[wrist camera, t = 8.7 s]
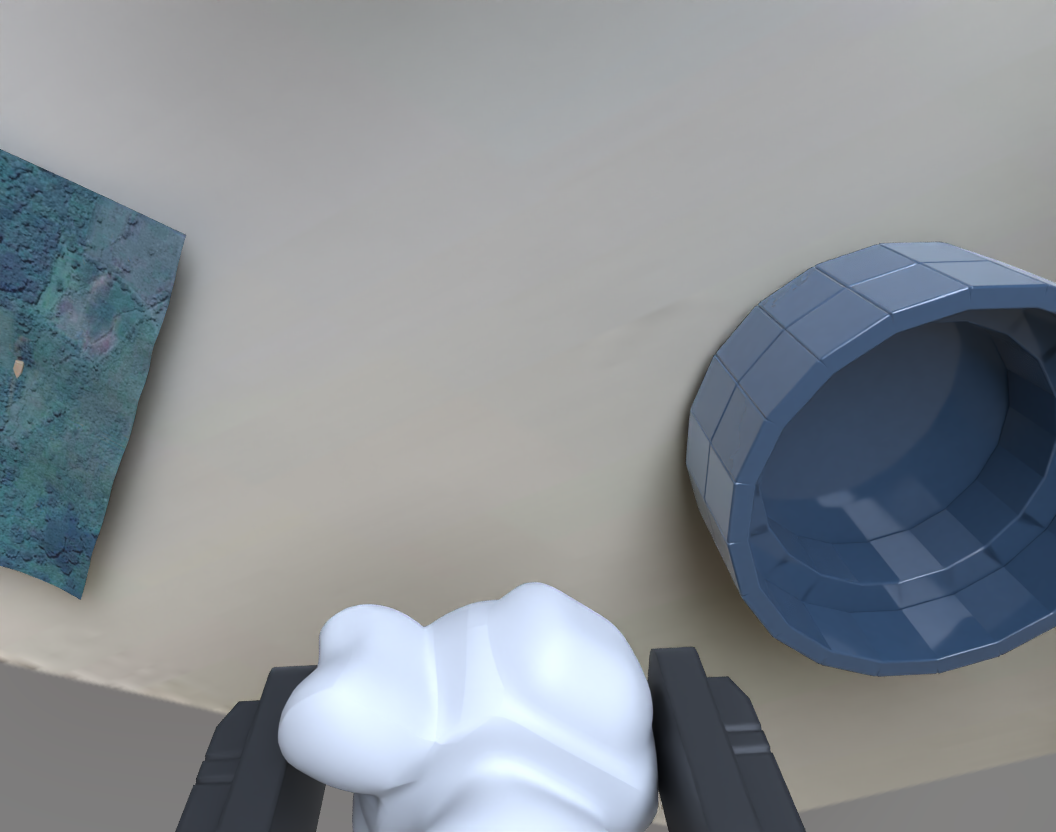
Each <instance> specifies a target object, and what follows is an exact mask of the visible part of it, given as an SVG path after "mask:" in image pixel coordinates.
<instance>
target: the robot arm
mask: <svg viewBox="0 0 1056 832" xmlns="http://www.w3.org/2000/svg"><path fill="white" fill-rule="evenodd" d="M317 666H318V665H309V666H289V667H274V668H272V669H271V671H270V673H269V675H268V678H267V681H266V684H265V687H264V690H263V693H262V696H261V699H260V700H257V701H239V702H238V703H237V704H236V705H235V706H234V708H233V709H232V710H231V711H230V712H229V713H228V714H227V715H226V717H225V718H224V719H223V720H222V721H221V722H220V723H219V725H218V726H217V727H216V730H215V732H214V734H213V737H212V739H211V742H210V745H209V747H208V750H207V752H206V755H205V761H203V762H202V765H201V767H200V770H199V773H198V775H197V778H196V784H195V785H193V788H192V790H191V793H190V795H189V798H188V801H187V803H186V806H185V809H184V811H183V813H182V816H181V819H180V821H179V824H178V826H177V829H176V831H175V832H316V829H317V824H318V819H319V814H320V810H321V805H322V800H323V795H324V790H325V786H326V784H324V783H322V782H319V781H317V780H315V779H314V778H312V777H310V776H308V775H306V774H304V773H303V772H301V771H299V770H298V769H296V768H295V767H293V766H292V765H291V764H289V763H288V762H287V760H286V759H285V757H284V756H283V755H282V752H281V749H280V746H279V743H278V729H279V722H280V718H281V714H282V711H283V709H284V707H285V705H286V703H287V701H288V699H289V698H290V696H291V694H292V692H293V691H294V689H295V688H296V687H297V686H298V685H299V684H300V683H301V682H302V681H303V680H304V679H305V678H306V677H308V676H309V675H310V674H311V673H312V672H313V671H314V670H315V669H316V668H317ZM648 685H649V688H650V692H651V698H652V704H653V720H652V730H653V735H654V740H655V748H656V756H657V766H658V789H659V794H660V798H661V802H662V806H663V810H664V814H665V818H666V822H667V826H668V830H669V832H806V831H805V828H804V826H803V824H802V821H801V819H800V816H799V814H798V812H797V809H796V807H795V805H794V802H793V800H792V797H791V795H790V793H789V790H788V788H787V786H786V783H785V781H784V779H783V776H782V774H781V771H780V769H779V767H778V764H777V762H776V760H775V757H774V755H773V753H771V751H770V745H769V743H768V741H767V738H766V736H765V734H764V731H763V730H761V724H760V722H759V719H758V717H757V715H756V712H755V710H754V708H753V705H752V703H751V701H750V698H749V697H748V696H747V695H746V694H745V693H744V692H743V691H742V690H741V689H740V688H739V687H738V686H737V685H736V684H735V683H734V682H733V681H732V680H731V679H730V678H729V677H728V676H726V677H706V674H705V671H704V669H703V666H702V663H701V660H700V658H699V655H698V653H697V651H696V649H695V648H694V647H677V648H658V649H651V651H650V657H649V670H648Z"/></svg>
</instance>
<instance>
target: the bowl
mask: <svg viewBox="0 0 1056 832" xmlns="http://www.w3.org/2000/svg"><path fill="white" fill-rule="evenodd" d="M758 305H759V306H755V307H754V308H753V310H752V311H751V312H750V313H749V314H748V316H747V317H746V318H745V319H744V320H743V321H742V323H741V324H740V325H739V326H738V327H737V329H736V330H735V331H734V332H733V333H732V335H731V336H730V337H729V338H728V339H727V340H726V342H725V343H724V344H723V345H722V346H721V348H720V349H719V350H718V351H717V352H716V355H714V356H713V359H712V361H711V363H710V365H709V368H708V370H707V372H706V375H705V377H704V379H703V382H702V384H701V386H700V388H699V391H698V393H697V395H696V398H695V400H694V402H693V404H692V407H691V410H690V418H689V430H688V441H687V452H686V466H687V470H688V473H689V477H690V480H691V484H692V488H693V491H694V495H695V498H696V502H697V505H698V509H699V511H700V513H701V515H702V517H703V519H704V521H705V523H706V525H707V527H708V529H709V532H710V534H711V536H712V538H713V540H714V542H715V544H716V546H717V548H718V550H719V552H720V554H721V556H722V558H723V560H724V562H725V565H726V567H727V569H728V571H729V573H730V575H731V577H732V579H733V581H734V583H735V585H736V587H737V589H738V591H739V593H740V595H741V598H742V599H743V600H744V601H745V603H746V604H747V605H748V606H749V608H750V609H751V610H752V612H753V613H754V614H755V615H756V617H757V618H758V619H759V620H760V622H761V623H762V624H763V625H764V627H765V628H766V629H767V631H768V632H769V633H770V634H771V636H772V637H774V638H775V639H777V640H779V641H780V642H782V643H784V644H785V645H787V646H789V647H791V648H792V649H794V650H796V651H797V652H799V653H801V654H803V655H804V656H806V657H808V658H809V659H811V660H813V661H815V662H816V663H818V664H821V665H824V666H828V667H833V668H838V669H842V670H847V671H852V672H856V673H861V674H866V675H870V676H878V677H881V676H900V675H920V674H936V673H943V672H946V671H950V670H953V669H957V668H960V667H964V666H967V665H971V664H974V663H978V662H981V661H985V660H988V659H992V658H995V657H999V656H1000V655H1003V654H1005V653H1007V652H1009V651H1011V650H1013V649H1015V648H1016V647H1018V646H1020V645H1022V644H1024V643H1026V642H1028V641H1030V640H1032V639H1033V638H1035V637H1037V636H1039V635H1041V634H1043V633H1045V632H1047V631H1049V630H1050V629H1052V628H1054V627H1056V283H1055V282H1053V281H1050V280H1047V279H1045V278H1042V277H1040V276H1037V275H1035V274H1032V273H1029V272H1027V271H1024V270H1022V269H1019V268H1017V267H1014V266H1012V265H1009V264H1006V263H1004V262H1001V261H999V260H996V259H993V258H990V257H987V256H984V255H981V254H978V253H975V252H972V251H969V250H966V249H963V248H960V247H957V246H954V245H951V244H948V243H943V242H912V243H880V244H879V245H877V244H876V245H873V246H870V247H867V248H864V249H861V250H858V251H855V252H852V253H849V254H847V255H844V256H841V257H838V258H835V259H832V260H829V261H826V262H823V263H820V264H817V265H815V267H811V268H810V269H808V270H807V271H805V272H804V273H802V274H801V275H799V276H798V277H797V278H795V279H794V280H792V281H791V282H789V283H788V284H786V285H785V286H783V287H782V288H780V289H779V290H777V291H776V292H775V293H773V294H772V295H770V296H769V297H767V298H766V299H764V300H763V301H761V302H760V303H759V304H758Z"/></svg>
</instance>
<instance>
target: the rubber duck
mask: <svg viewBox="0 0 1056 832" xmlns="http://www.w3.org/2000/svg"><path fill="white" fill-rule="evenodd" d="M652 720H653V704H652V698H651V692H650V688H649V685H648V682H647V680H646V677H645V675H644V673H643V670H642V668H641V666H640V663H639V661H638V660H637V658H636V656H635V654H634V652H633V651H632V649H631V647H630V645H629V644H628V642H627V641H626V639H625V638H624V636H623V635H622V633H621V632H620V631H619V630H618V629H617V628H616V627H615V626H614V625H613V624H612V623H611V622H610V621H608V620H607V619H606V618H604V617H603V616H601V615H600V614H598V613H596V612H595V611H593V610H591V609H590V608H588V607H586V606H585V605H583V604H581V603H580V602H578V601H576V600H575V599H573V598H571V597H570V596H568V595H566V594H565V593H563V592H561V591H560V590H558V589H556V588H554V587H552V586H549V585H547V584H544V583H539V582H531V583H524V584H522V585H520V586H518V587H516V588H515V589H513V590H512V591H511V592H509V593H508V594H506V595H505V596H504V597H502V598H501V599H500V600H488V601H481V602H476V603H472V604H469V605H466V606H464V607H461V608H458V609H456V610H454V611H452V612H450V613H448V614H446V615H444V616H443V617H441V618H439V619H437V620H436V621H434V622H433V623H432V624H430V625H428V626H426V627H423V626H421V625H420V624H419V623H418V622H417V621H415V620H414V619H412V618H411V617H409V616H407V615H406V614H404V613H402V612H400V611H397V610H395V609H392V608H389V607H386V606H382V605H374V604H365V605H358V606H353V607H349V608H346V609H344V610H343V611H341V612H339V613H337V614H336V615H334V616H333V617H332V618H330V619H329V620H328V621H327V622H326V623H325V625H324V626H323V627H322V629H321V632H320V635H319V662H318V666H317V668H316V669H315V670H314V671H313V672H312V673H311V674H310V675H309V676H308V677H306V678H305V679H304V680H303V681H302V682H301V683H300V684H299V685H298V686H297V687H296V688H295V689H294V691H293V692H292V694H291V696H290V698H289V699H288V701H287V703H286V705H285V707H284V709H283V711H282V714H281V718H280V722H279V729H278V743H279V746H280V749H281V752H282V755H283V756H284V757H285V759H286V760H287V762H288V763H289V764H291V765H292V766H293V767H295V768H296V769H298V770H299V771H301V772H303V773H304V774H306V775H308V776H310V777H312V778H314V779H315V780H317V781H319V782H322V783H324V784H327V785H329V786H331V787H334V788H338V789H340V790H344V791H348V792H352V793H354V796H353V815H352V822H353V832H644V831H645V830H646V829H647V828H648V827H649V825H650V824H651V823H652V821H653V819H654V817H655V815H656V813H657V808H658V766H657V756H656V748H655V740H654V735H653V730H652Z"/></svg>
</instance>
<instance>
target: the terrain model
mask: <svg viewBox="0 0 1056 832" xmlns="http://www.w3.org/2000/svg"><path fill="white" fill-rule="evenodd" d="M185 237H186V235H185V234H183V233H181V232H179V231H177V230H174V229H172V228H170V227H168V226H166V225H164V224H162V223H159V222H157V221H155V220H153V219H151V218H149V217H147V216H145V215H143V214H140V213H138V212H136V211H134V210H132V209H130V208H128V207H126V206H123V205H121V204H119V203H117V202H115V201H113V200H111V199H108V198H106V197H104V196H102V195H100V194H97V193H95V192H93V191H91V190H89V189H87V188H84V187H82V186H80V185H78V184H76V183H74V182H72V181H69V180H67V179H65V178H63V177H61V176H58V175H56V174H54V173H52V172H50V171H47V170H45V169H43V168H41V167H38V166H36V165H34V164H32V163H30V162H27V161H25V160H23V159H21V158H19V157H16V156H14V155H12V154H10V153H7V152H5V151H3V150H1V149H0V566H3V567H6V568H10V569H13V570H17V571H20V572H23V573H25V574H28V575H30V576H33V577H35V578H38V579H40V580H43V581H45V582H48V583H50V584H52V585H54V586H56V587H58V588H60V589H62V590H64V591H66V592H68V593H69V594H71V595H73V596H75V597H77V598H78V599H80V600H81V597H82V594H83V590H84V586H85V583H86V579H87V573H88V569H89V566H90V561H91V556H92V552H93V549H94V546H95V543H96V541H97V538H98V535H99V532H100V529H101V527H102V524H103V520H104V516H105V513H106V509H107V505H108V502H109V497H110V492H111V488H112V485H113V481H114V478H115V475H116V473H117V470H118V467H119V464H120V461H121V458H122V456H123V453H124V451H125V449H126V446H127V444H128V441H129V438H130V434H131V431H132V427H133V423H134V419H135V415H136V410H137V405H138V401H139V398H140V395H141V392H142V390H143V387H144V385H145V382H146V379H147V376H148V372H149V367H150V361H151V354H152V350H153V347H154V344H155V341H156V339H157V336H158V334H159V331H160V328H161V325H162V322H163V319H164V317H165V314H166V311H167V308H168V305H169V302H170V297H171V292H172V289H173V285H174V281H175V276H176V272H177V267H178V263H179V259H180V255H181V251H182V247H183V244H184V240H185Z"/></svg>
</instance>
